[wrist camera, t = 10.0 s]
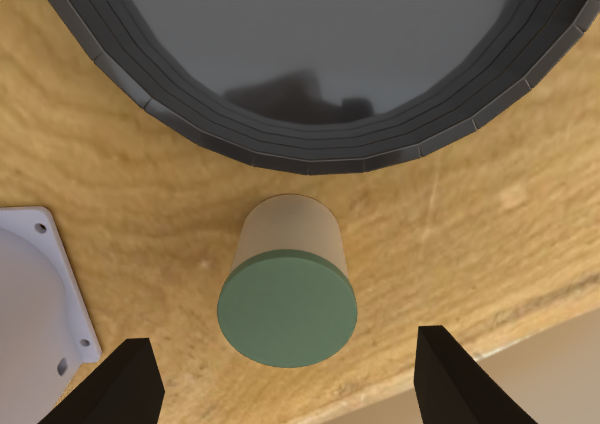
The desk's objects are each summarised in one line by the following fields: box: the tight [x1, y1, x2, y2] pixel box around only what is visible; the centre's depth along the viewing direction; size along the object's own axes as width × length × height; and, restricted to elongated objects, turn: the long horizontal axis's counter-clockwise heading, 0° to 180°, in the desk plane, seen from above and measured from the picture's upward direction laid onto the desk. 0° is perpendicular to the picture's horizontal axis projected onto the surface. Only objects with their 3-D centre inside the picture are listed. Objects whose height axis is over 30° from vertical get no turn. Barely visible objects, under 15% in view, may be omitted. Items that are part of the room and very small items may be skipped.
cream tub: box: [217, 194, 357, 368], centre depth 16 cm, size 5×5×6 cm
